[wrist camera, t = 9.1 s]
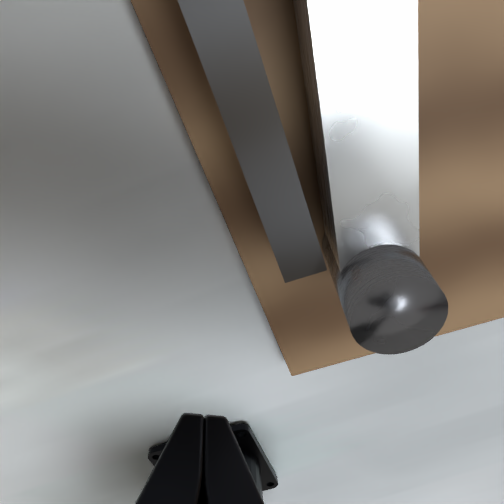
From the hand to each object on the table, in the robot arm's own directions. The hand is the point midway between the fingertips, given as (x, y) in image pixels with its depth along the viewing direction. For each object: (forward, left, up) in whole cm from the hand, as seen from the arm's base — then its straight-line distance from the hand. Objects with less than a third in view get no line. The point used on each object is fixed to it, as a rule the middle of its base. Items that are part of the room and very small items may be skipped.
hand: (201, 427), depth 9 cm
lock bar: (+1, -6, -10) cm, 12 cm away
